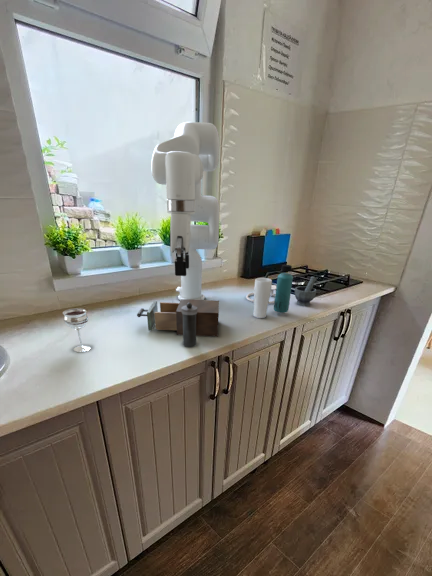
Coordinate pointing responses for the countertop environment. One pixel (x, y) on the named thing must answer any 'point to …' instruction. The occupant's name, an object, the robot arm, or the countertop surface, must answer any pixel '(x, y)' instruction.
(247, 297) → the hand towel holder
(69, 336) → the countertop surface
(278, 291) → the beverage bottle
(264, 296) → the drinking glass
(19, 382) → the countertop surface
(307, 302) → the mortar and pestle
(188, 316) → the pepper mill
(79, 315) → the wineglass
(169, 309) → the drawer
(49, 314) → the countertop surface
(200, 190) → the robot arm
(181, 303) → the cabinet
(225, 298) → the countertop surface
